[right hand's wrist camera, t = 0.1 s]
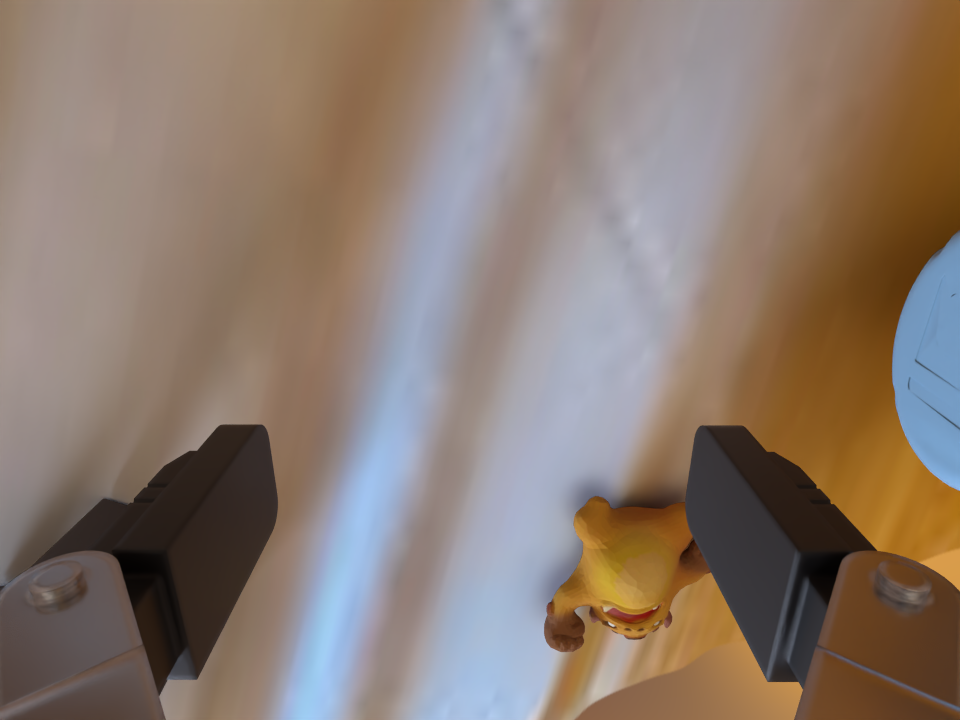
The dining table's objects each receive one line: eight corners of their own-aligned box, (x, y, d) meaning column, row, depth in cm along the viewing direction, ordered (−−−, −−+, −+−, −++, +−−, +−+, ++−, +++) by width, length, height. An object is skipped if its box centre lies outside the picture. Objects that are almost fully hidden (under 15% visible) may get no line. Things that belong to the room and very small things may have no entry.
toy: (754, 533, 43) (660, 682, 48) (697, 479, 48) (617, 617, 53) (637, 523, 38) (545, 690, 43) (587, 464, 43) (511, 618, 48)
